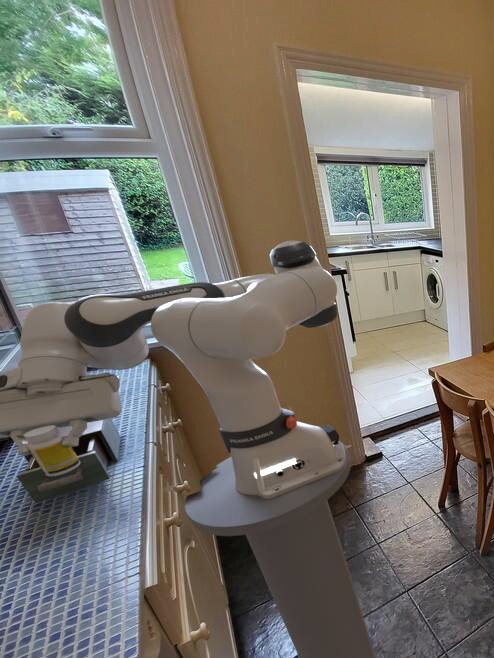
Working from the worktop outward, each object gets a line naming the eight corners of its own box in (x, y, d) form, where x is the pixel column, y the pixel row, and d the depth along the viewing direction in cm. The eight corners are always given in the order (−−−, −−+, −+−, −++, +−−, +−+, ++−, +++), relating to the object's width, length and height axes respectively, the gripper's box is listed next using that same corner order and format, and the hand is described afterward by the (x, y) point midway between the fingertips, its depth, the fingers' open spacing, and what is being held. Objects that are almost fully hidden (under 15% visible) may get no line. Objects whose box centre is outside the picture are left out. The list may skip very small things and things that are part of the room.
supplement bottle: (88, 462, 78) (65, 424, 74) (59, 477, 74) (34, 438, 70) (68, 460, 79) (44, 423, 75) (38, 476, 75) (12, 437, 71)
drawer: (108, 488, 86) (92, 461, 83) (30, 514, 79) (10, 486, 77) (113, 453, 98) (100, 428, 96) (47, 473, 92) (30, 447, 89)
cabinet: (118, 461, 97) (100, 429, 93) (42, 484, 90) (21, 451, 86) (121, 437, 107) (105, 408, 104) (54, 456, 100) (34, 426, 97)
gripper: (129, 377, 84) (129, 441, 80) (-1, 397, 78) (-9, 467, 74) (108, 364, 78) (107, 432, 74) (-34, 385, 72) (-44, 460, 68)
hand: (48, 450), depth 74 cm, fingers closed on supplement bottle, 5 cm apart
